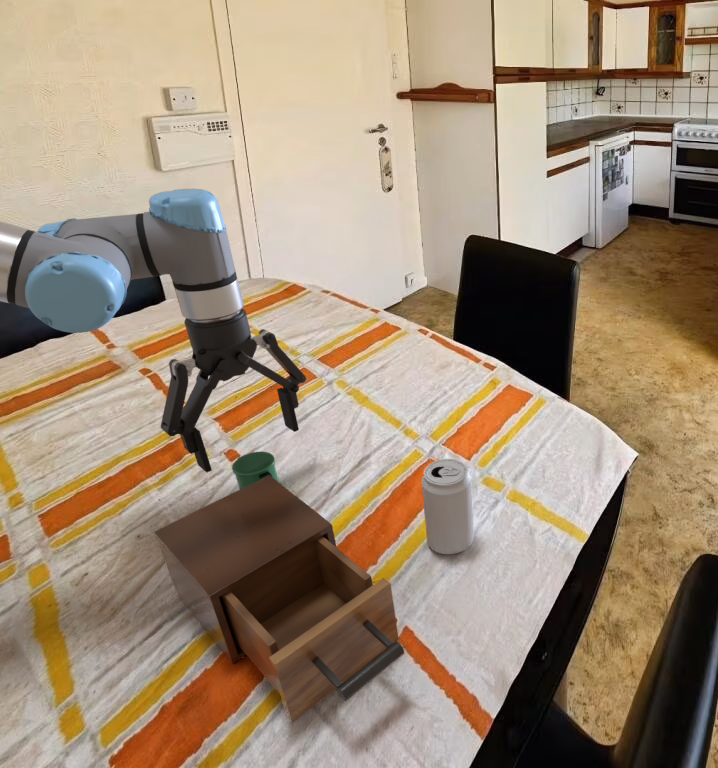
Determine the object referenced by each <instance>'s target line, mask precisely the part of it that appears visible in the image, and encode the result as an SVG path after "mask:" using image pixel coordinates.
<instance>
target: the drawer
mask: <svg viewBox="0 0 718 768" xmlns="http://www.w3.org/2000/svg"><path fill="white" fill-rule="evenodd" d="M336 547H337V546H336ZM336 547H335V546H334V545H333V544H331V543H330V542H329V541H328V540H327V539H325V538H324V537H323V536H321V537H319V538H317V539H316V540H314V541H312V542H311V543H309V544H307V545H306V546H304V547H302V548H301V549H299V550H297V551H296V552H294V553H292V554H291V555H289V556H287V557H286V558H284V559H282V560H281V561H279V562H277V563H275V564H274V565H272V566H270V567H269V568H267V569H265V570H264V571H262V572H260V573H259V574H257V575H255V576H254V577H252V578H250V579H249V580H247V581H245V582H244V583H242V584H240V585H239V586H237V587H235V588H233V589H232V590H230V591H228V592H227V593H225V594H223V595H222V596H220V599H221V602H222V605H223V608H224V611H225V614H226V617H227V620H228V623H229V626H230V629H231V632H232V635H233V638H234V641H235V642H236V643H237V644H238V646H239V647H240V648H241V649H242V650H243V652H244V653H245V654H246V655H247V656H246V657H247V658H248V659H249V660H250V661H251V662H252V663H253V665H254V666H255V667H256V668H257V669H258V671H259V672H260V673H261V674H262V675H263V677H264V678H265V679H266V680H267V681H268V682H269V683H270V685H271V687H273V688H274V690H276V692H277V693H278V695H279V696H280V699H281V702H282V707H283V709H284V712H285V717H286V718H288V720H289V722H291V723H295V722H296V721H297V720H299V719H300V718H301V717H303V715H305V714H307V712H309V711H310V710H312V708H314V707H315V706H316V705H317V704H319V703H320V702H321V701H323V699H325V698H326V697H328V696H329V695H330V694H331V693H332V692H334V691H335V690H336V693H337V695H338V697H339V698H340V700H341V701H342V702H347V701H349V700H350V699H351V698H352V697H353V696H354V695H356V694H357V693H359V691H361V690H362V689H363V688H364V687H365V686H367V685H368V684H369V683H371V682H372V681H373V680H374V679H375V678H377V677H378V676H380V675H381V673H383V672H384V671H386V669H388V668H390V666H391V665H392V664H394V663H395V662H396V661H398V660H399V659H400V658H401V657H402V656H403V655H405V649H404V647H403V645H402V644H401V643H400V642H399V641H398V640H399V631H398V626H397V624H398V623H397V617H396V612H395V611H396V610H395V604H394V598H393V592H392V585H391V582H390V581H389V580H387V579H386V578H385V577H382V578H381V579H380V580H378V581H377V582H375V583H374V584H373V579H372V575H370V573H368V572H367V571H365V569H363V567H361V566H359V565H358V564H357V563H356V562H355V561H353V560H352V559H351V558H350V557H349V556H347V555H346V554H345V553H343V551H341V549H339V548H338V547H337V548H336Z"/></svg>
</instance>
